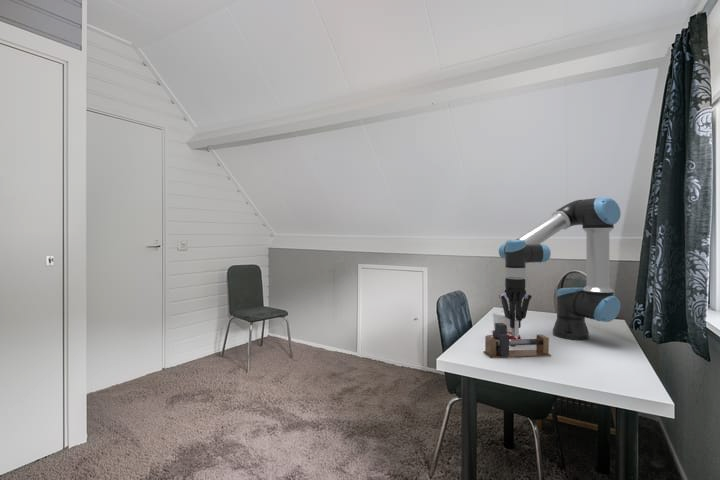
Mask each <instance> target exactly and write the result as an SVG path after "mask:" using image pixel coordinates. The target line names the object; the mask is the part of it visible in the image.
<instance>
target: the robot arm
mask: <svg viewBox="0 0 720 480" xmlns="http://www.w3.org/2000/svg"><path fill="white" fill-rule="evenodd" d="M621 213H622V212H621V208H620V205H619V203H618V202H616V200H614V199H613V198H611V197H594V198H586V199H576V200H574V201H570V202H569V203H567V204H566V205H563V206H561V207H560V208H558V209H556V210H555V211H554V212H553V213H551V216H550V217H548V218H547V219H545V220H544V221H542V222H541V223H539V224H538V225H535V227H533V228H532V229H530V230H528V231H527V232H525V233H524V234H522V235H521V236H519V237H518V238H516V239H508V240H506V241H505V242H504V243H502V244H500V246H499V248H498V256H500V258H501V259H502V260H505V263H504V265H505V270H504V271H505V272H504V274H505V275H504V276H505V277H506V278H505V280H504V282H505V283H504V286H505V290H504V293H502V294H499V295H498V297H499V299H500V301H501V304H502V309H503V310H502V311H504V314H505V317H506V318H508V319H510V327H511V328H512V336H514V337H515V338H517V337H519V335H520V334H519V333H520V332H519V329H521V326H522V325H521V322H522V321H523V319H524V320H525V319H526V317H527V312H528V307H529V305H530V301H531V299H532V296H533V295H531V294H529V293H527V291H526V279H525V278H526V264H529V263H538V264H539V263H540V264H541V263H544V262H545V263H546V262H547V261H549V260H550V258H551V249H550V247H549V246H548V245H547V244H544V242H545V241H547V240H548V239H550V238H551V237H552V236H554V235H555V234H558V232H560V231H563V230H567V229H569V228H571V227H573V226H582V230H583V231H584V232H585V233H586V235H585V236H586V243H585V244H586V258H585V259H586V260H585V261H586V285H585V286H584V287H562V288H559V289H558V290H557V294H556V320H555V323H554V325H553V327H552V335H553V336H555V337H559V338H562V339H566V340H574V341H575V340H576V341H583V340H588V339H590V333H589V332H590V331H589V329H588V327H587V324H586V318H587V319H590V320H595V321H597V322H603V323H604V322H605V323H609V322H612V321H614V320H615V319H616V318H617V317H618V315H619V313H620V311H621V301H620V299H619V298H618V297H617V296H615V295H614V294H615V292H614V289H612V288H611V286H610V233H611V231H613V230H614V225H615V224H617V223H618V222H619V220H620V219H621ZM507 299H508V300H507Z"/></svg>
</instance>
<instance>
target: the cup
mask: <svg viewBox="0 0 720 480" xmlns="http://www.w3.org/2000/svg"><path fill="white" fill-rule="evenodd" d="M492 318H493V319H492V320H493V330H495V323H503V324H505V325H507V332H511V333H512V328H511V327H510V319H508V318H506V317H505V314H504V310H501V311H500V310H499V311H498V310H495V311H493V312H492Z"/></svg>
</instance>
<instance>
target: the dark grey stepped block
mask: <svg viewBox="0 0 720 480" xmlns="http://www.w3.org/2000/svg"><path fill="white" fill-rule="evenodd" d="M492 335H493V336H492V337H493V338H495V339H496V340H500V346H496V352H497V353H498V354H500V355H501V356H509V350H510V345H509V335H508V334H507V325H505V324H503V323H495V330H494V329H493V330H492Z"/></svg>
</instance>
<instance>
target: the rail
mask: <svg viewBox="0 0 720 480" xmlns="http://www.w3.org/2000/svg"><path fill="white" fill-rule="evenodd" d="M484 337H485V339H484V340H485V341H484V342H485V343H484V345H485V346H484V347H485V349H484V350H483V354H484V355H485V356H487V357H489V358H490V359H511V358H513V359H514V358H536V357H537V358H540V357H541V358H542V357H545V358H546V357H552V354H550V352H549V350H550V349H549V348H550V345H549V344H550V338H549V337H548V336H546V335H544V334H541V333H540V334H539V333H538V334H536V337H535V338H521V339H509V346H510V345H516V346H534V345H535V347H536V349H513V350H512V349H511V350H510V349H509V356H501V355H500V354H498V353H497V352H496V346H500V340H496V339H495V338H493V336H489V335H488V336H487V335H485V336H484Z"/></svg>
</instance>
